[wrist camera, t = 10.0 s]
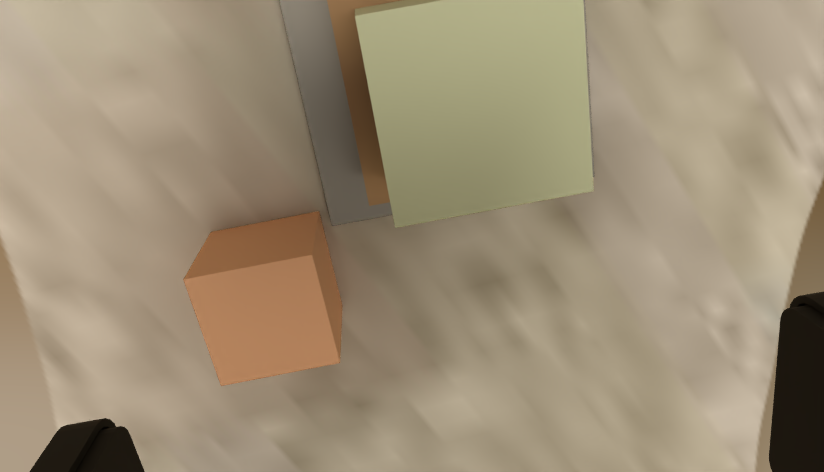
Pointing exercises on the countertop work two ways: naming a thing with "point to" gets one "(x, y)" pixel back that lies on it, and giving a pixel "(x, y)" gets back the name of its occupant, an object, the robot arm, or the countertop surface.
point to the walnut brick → (359, 95)
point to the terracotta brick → (267, 298)
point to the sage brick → (477, 103)
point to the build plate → (334, 110)
